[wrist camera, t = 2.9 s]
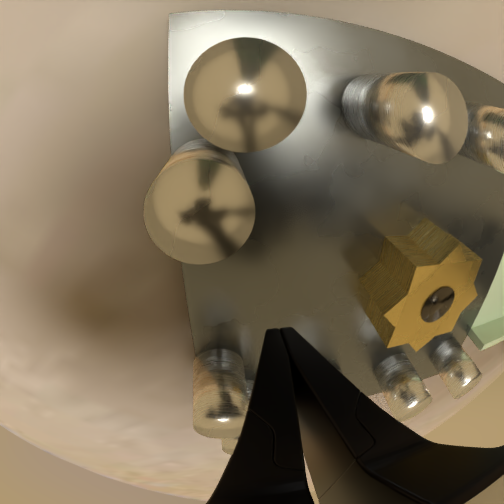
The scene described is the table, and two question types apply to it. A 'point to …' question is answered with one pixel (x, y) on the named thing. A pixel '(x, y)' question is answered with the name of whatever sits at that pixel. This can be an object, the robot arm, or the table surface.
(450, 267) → the gear
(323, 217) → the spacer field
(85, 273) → the table surface
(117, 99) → the table surface
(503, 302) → the tray
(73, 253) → the table surface
